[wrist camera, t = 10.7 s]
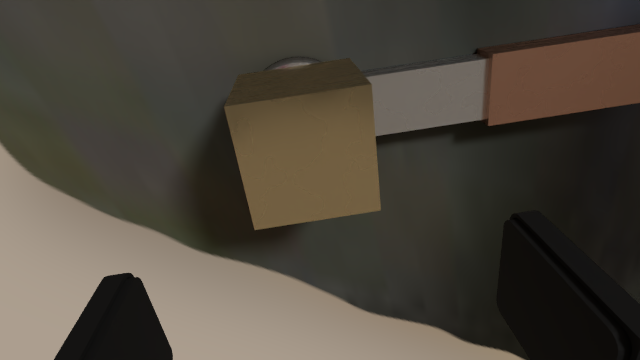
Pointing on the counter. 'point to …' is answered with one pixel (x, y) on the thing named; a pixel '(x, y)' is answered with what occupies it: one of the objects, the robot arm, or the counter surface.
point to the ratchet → (506, 81)
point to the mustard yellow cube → (305, 142)
